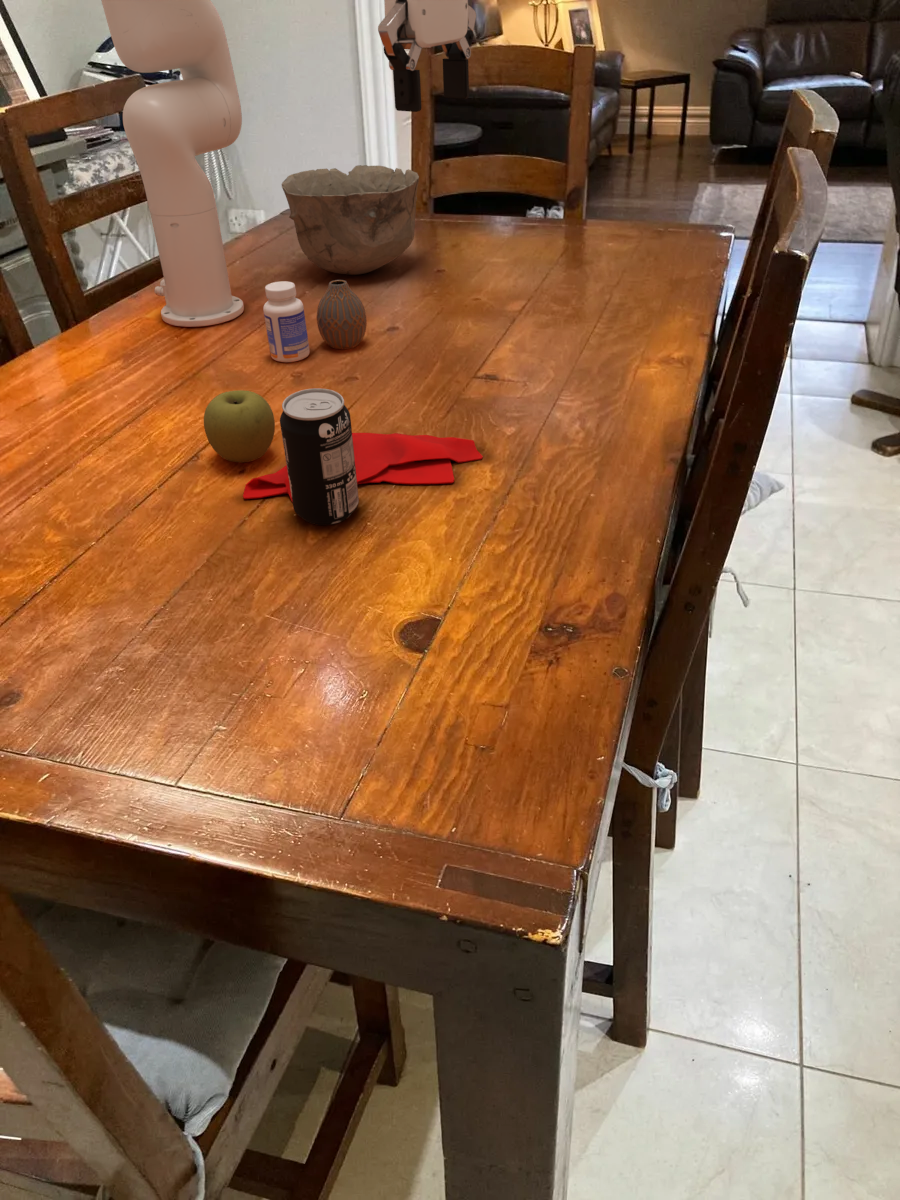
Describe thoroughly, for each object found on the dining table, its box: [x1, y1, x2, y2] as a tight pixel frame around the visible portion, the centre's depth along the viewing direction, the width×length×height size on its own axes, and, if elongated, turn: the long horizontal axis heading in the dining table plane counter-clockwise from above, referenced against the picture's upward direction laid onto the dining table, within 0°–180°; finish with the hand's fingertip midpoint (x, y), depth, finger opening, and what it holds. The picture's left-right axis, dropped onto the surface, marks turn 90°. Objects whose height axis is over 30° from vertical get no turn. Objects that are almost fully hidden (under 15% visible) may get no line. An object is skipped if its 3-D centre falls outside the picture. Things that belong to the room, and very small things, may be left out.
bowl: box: [281, 164, 420, 276], centre depth 157 cm, size 22×22×15 cm
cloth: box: [242, 432, 484, 504], centre depth 102 cm, size 26×14×2 cm, turn 99°
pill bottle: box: [262, 280, 311, 363], centre depth 127 cm, size 5×5×10 cm
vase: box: [316, 279, 368, 350], centre depth 130 cm, size 7×7×9 cm
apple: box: [203, 389, 276, 463], centre depth 103 cm, size 8×8×7 cm
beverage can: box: [279, 387, 360, 526], centre depth 90 cm, size 7×7×12 cm
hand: (433, 104), depth 106 cm, fingers open, 9 cm apart
